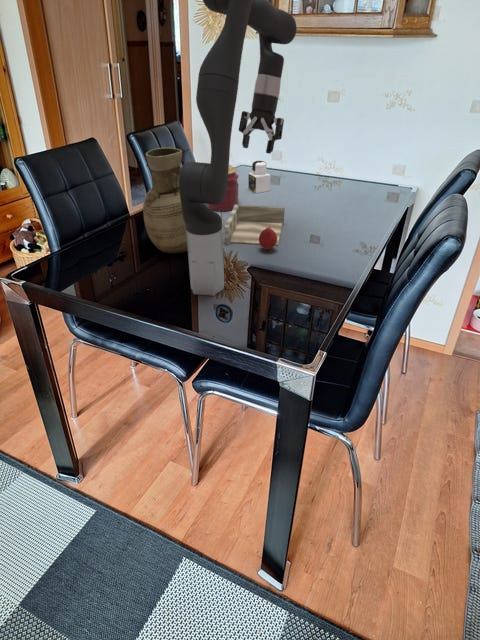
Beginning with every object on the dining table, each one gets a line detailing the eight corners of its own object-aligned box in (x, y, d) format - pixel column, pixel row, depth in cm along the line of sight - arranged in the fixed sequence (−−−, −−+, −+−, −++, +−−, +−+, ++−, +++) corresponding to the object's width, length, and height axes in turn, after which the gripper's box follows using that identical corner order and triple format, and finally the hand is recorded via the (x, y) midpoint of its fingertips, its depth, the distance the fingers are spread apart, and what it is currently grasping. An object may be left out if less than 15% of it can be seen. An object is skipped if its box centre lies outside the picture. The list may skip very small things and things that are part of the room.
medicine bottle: (248, 188, 190) (248, 160, 184) (262, 186, 193) (263, 158, 186) (255, 193, 185) (255, 164, 178) (270, 191, 187) (270, 162, 181)
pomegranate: (275, 254, 136) (276, 230, 131) (257, 253, 137) (257, 229, 132) (277, 246, 141) (278, 223, 136) (260, 245, 142) (260, 222, 137)
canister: (243, 209, 170) (243, 162, 160) (212, 213, 166) (210, 166, 156) (232, 199, 180) (231, 154, 170) (202, 203, 176) (199, 158, 166)
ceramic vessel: (199, 229, 153) (193, 140, 136) (211, 254, 136) (206, 156, 119) (145, 235, 149) (132, 144, 132) (150, 262, 132) (136, 161, 115)
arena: (279, 247, 140) (279, 229, 137) (224, 244, 143) (224, 226, 139) (283, 222, 157) (284, 206, 154) (235, 220, 160) (234, 204, 156)
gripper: (240, 88, 129) (231, 146, 136) (281, 95, 123) (270, 155, 130) (252, 91, 135) (244, 146, 142) (292, 98, 129) (281, 155, 136)
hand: (256, 150), depth 136 cm, fingers open, 8 cm apart
